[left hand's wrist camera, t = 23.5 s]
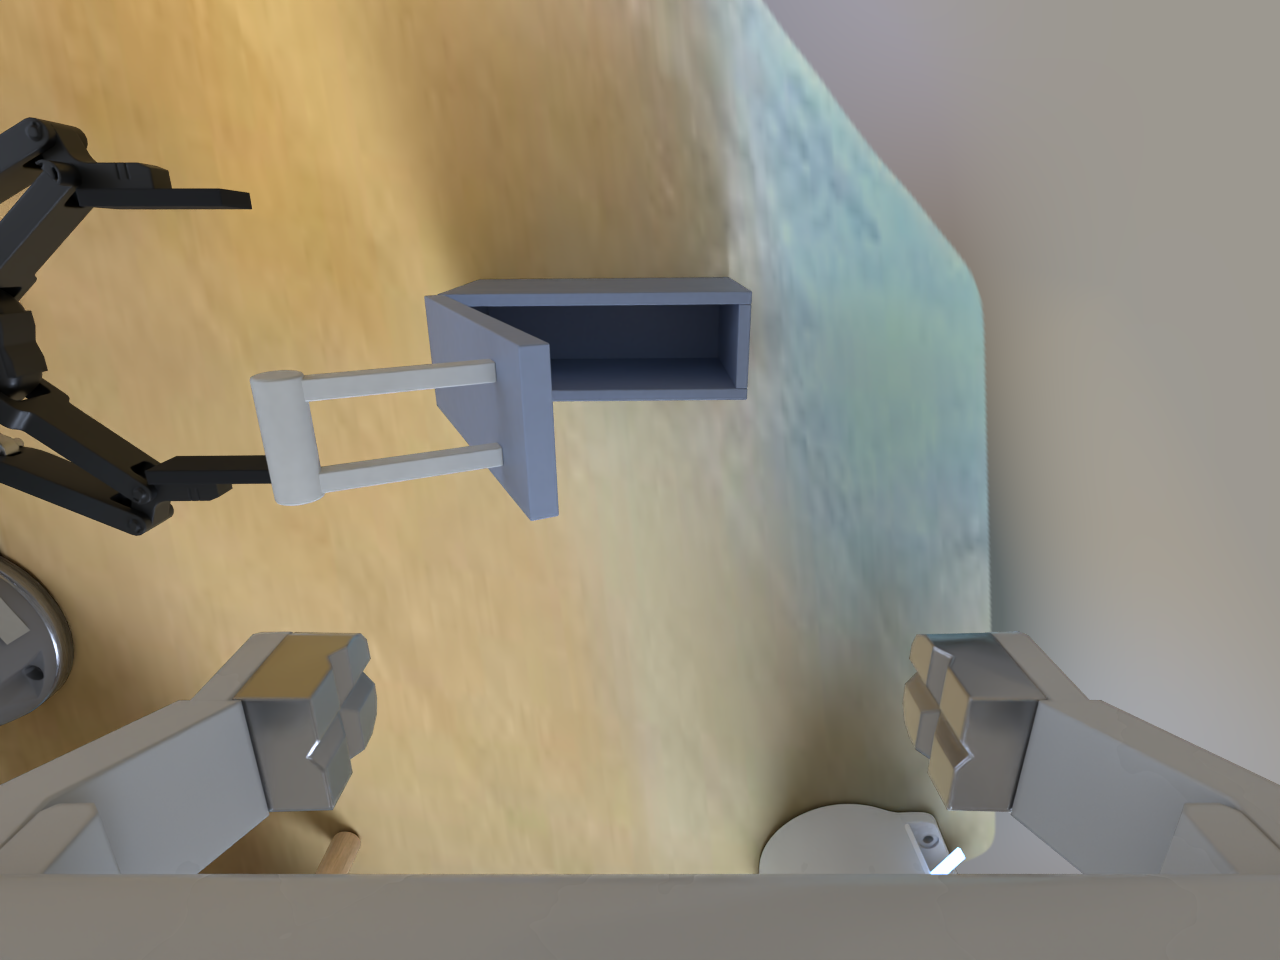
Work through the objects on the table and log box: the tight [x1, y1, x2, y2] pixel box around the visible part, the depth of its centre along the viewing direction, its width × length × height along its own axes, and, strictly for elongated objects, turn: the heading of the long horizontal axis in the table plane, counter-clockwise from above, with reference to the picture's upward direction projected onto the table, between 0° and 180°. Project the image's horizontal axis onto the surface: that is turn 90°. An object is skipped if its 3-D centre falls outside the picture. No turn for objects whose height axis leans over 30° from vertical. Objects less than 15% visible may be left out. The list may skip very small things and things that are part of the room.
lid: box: [250, 295, 559, 521], centre depth 27 cm, size 17×6×8 cm
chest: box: [438, 277, 752, 401], centre depth 41 cm, size 16×6×10 cm, turn 90°
